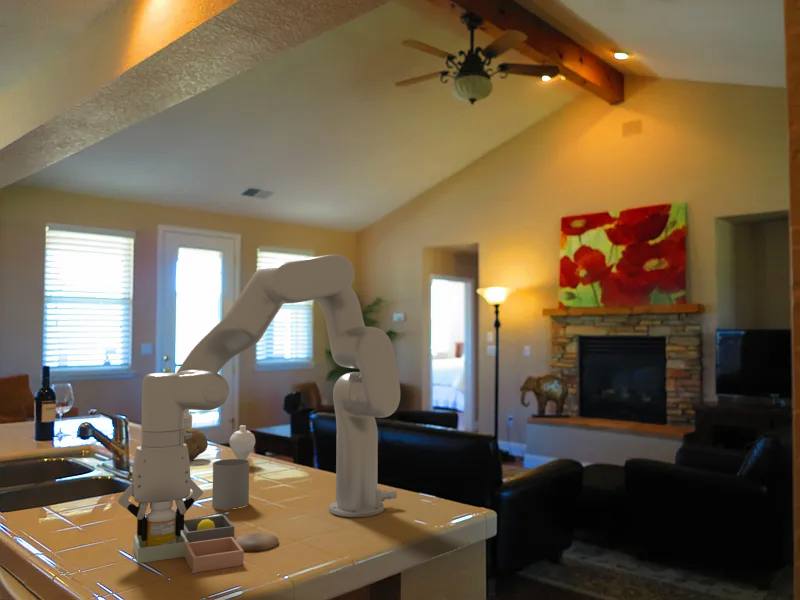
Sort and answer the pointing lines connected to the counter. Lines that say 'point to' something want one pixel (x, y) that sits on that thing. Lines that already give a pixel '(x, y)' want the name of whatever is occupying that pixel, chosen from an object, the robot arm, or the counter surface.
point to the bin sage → (159, 549)
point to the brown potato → (196, 443)
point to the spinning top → (242, 443)
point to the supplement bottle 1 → (161, 524)
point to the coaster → (256, 542)
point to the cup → (230, 483)
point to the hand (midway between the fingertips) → (160, 535)
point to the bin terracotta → (213, 554)
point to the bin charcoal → (220, 531)
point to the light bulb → (205, 525)
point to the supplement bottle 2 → (187, 419)
